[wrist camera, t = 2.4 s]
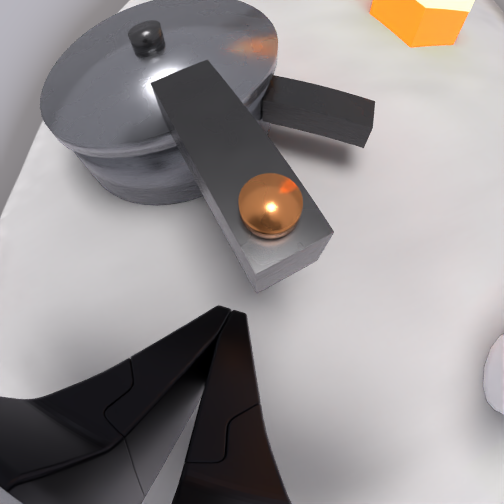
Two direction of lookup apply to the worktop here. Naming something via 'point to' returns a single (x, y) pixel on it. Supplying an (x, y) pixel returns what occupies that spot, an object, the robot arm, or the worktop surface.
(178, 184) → the cooker pot
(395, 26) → the orange juice
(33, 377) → the worktop surface
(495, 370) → the foam cup
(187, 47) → the cooker lid
